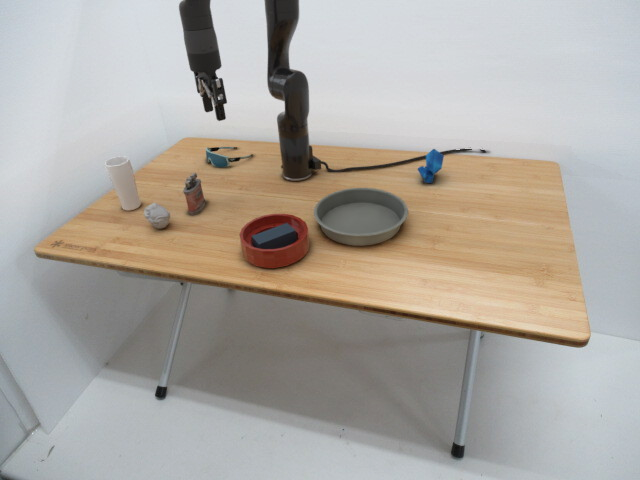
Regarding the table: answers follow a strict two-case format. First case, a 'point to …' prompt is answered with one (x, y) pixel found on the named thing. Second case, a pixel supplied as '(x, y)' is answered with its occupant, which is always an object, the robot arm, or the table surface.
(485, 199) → the table surface
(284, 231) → the blue rectangular block
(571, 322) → the table surface
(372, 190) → the cake pan
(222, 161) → the sunglasses
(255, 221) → the bowl
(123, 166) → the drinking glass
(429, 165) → the crystal
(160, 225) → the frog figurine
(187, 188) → the lighter
